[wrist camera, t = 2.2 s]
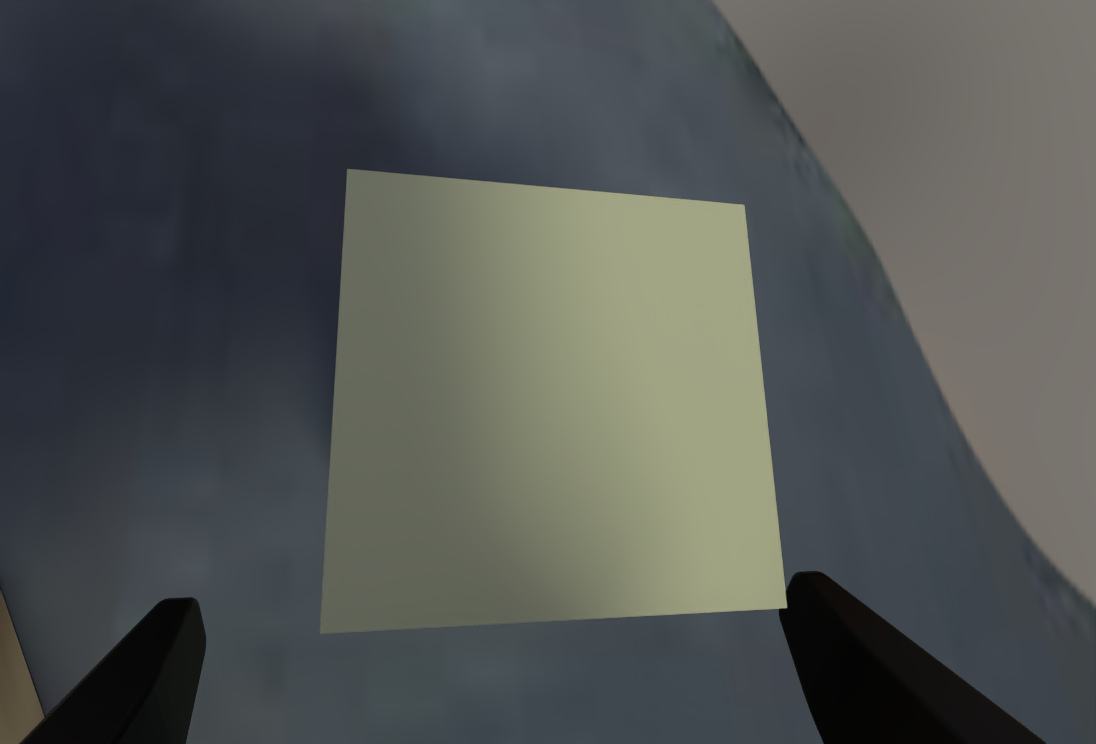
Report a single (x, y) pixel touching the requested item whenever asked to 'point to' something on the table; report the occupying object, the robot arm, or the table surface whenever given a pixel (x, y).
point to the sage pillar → (544, 409)
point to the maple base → (15, 686)
